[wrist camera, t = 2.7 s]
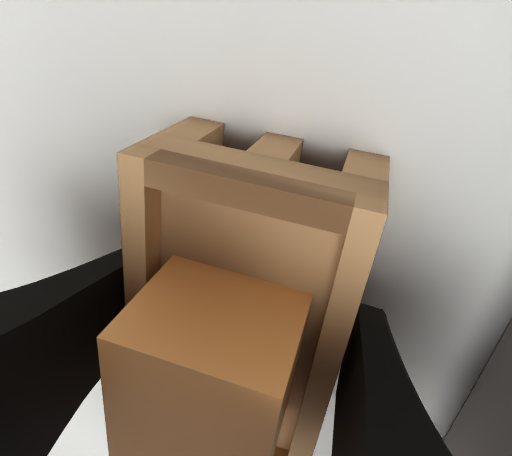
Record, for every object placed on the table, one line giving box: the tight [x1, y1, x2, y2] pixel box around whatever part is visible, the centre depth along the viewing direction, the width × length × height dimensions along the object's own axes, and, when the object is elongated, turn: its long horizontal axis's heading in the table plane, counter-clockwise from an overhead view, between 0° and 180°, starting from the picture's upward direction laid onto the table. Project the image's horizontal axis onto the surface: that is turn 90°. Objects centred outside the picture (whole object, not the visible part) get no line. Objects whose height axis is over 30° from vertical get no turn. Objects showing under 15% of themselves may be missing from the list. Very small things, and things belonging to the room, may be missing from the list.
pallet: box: [117, 117, 390, 456], centre depth 11 cm, size 9×5×4 cm, turn 173°
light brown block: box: [97, 255, 313, 456], centre depth 9 cm, size 4×4×3 cm
